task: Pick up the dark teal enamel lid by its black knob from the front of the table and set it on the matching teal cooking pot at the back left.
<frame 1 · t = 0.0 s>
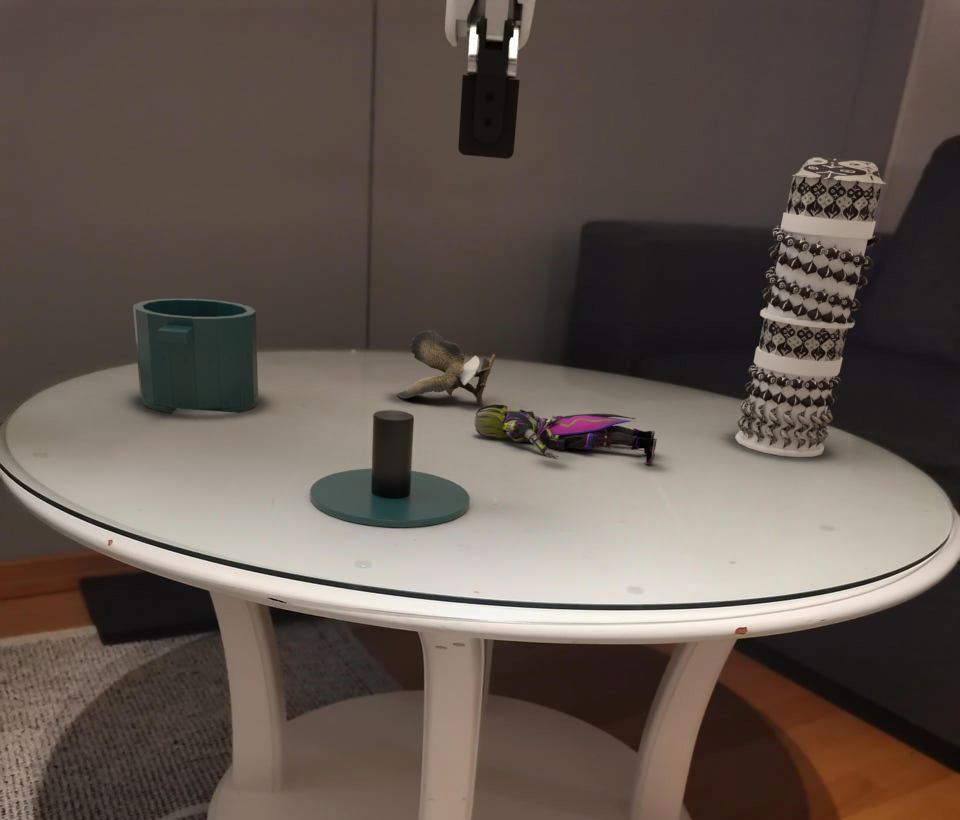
hand: (484, 155, 61), 23 cm above the table, tool pointing down, fingers open, 9 cm apart
character figure: (561, 453, 87), on the table
pot: (200, 400, 93), on the table
eagle figurine: (443, 401, 101), on the table
decorative candle: (778, 446, 95), on the table
lid: (390, 499, 70), point 1 cm above the table
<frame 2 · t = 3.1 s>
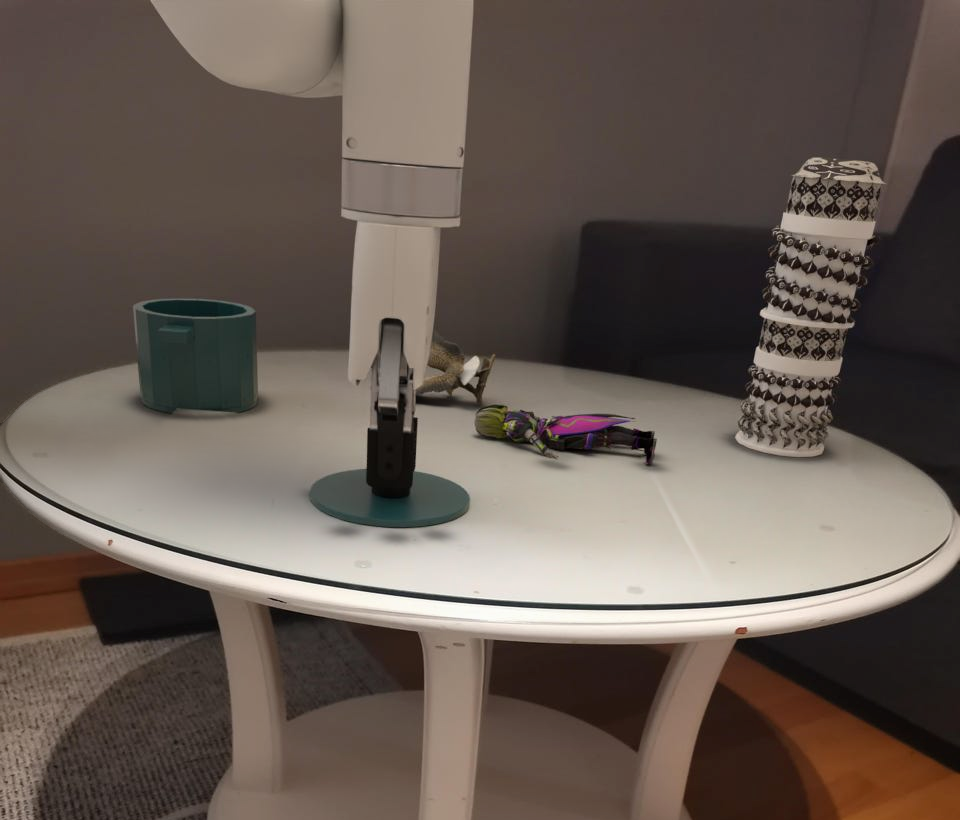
hand: (391, 476, 69), 2 cm above the table, tool pointing down, fingers closed on lid, 2 cm apart
lid: (390, 499, 70), point 1 cm above the table, touching gripper
everything else where it was.
when the fingers open (10 cm above the table, at t = 10.9 s): lid stays where it is, resting on pot.
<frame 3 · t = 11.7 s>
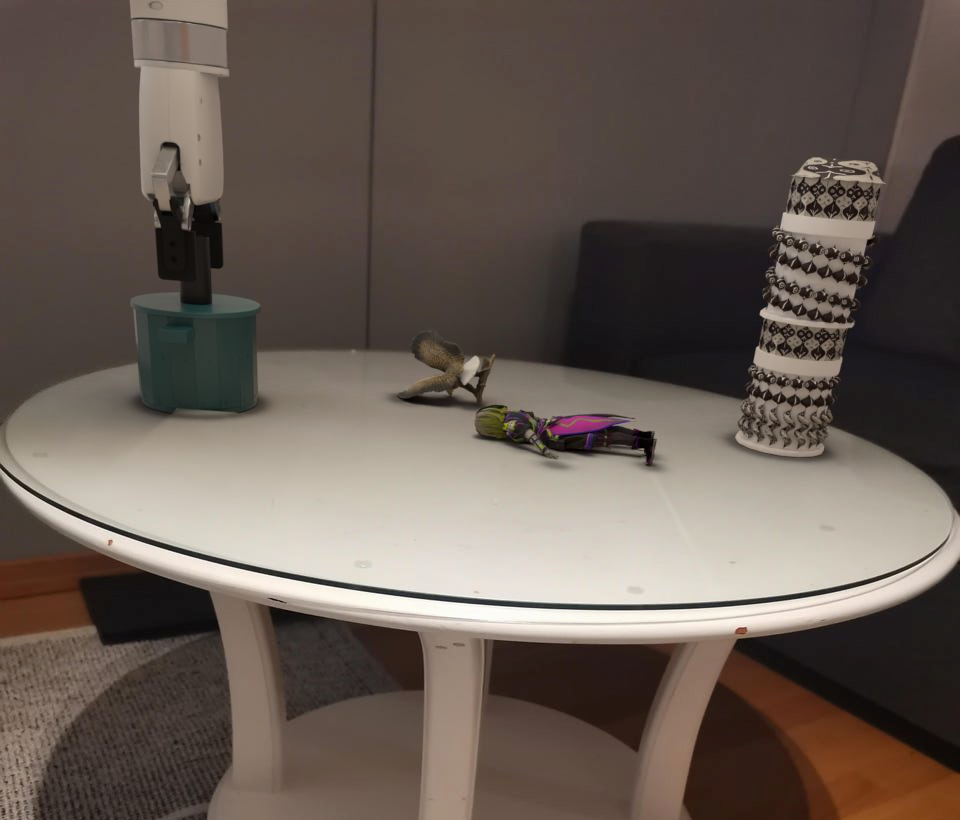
hand: (192, 273, 87), 11 cm above the table, tool pointing down, fingers open, 9 cm apart
lid: (196, 307, 89), point 8 cm above the table, touching pot
everything else where it was.
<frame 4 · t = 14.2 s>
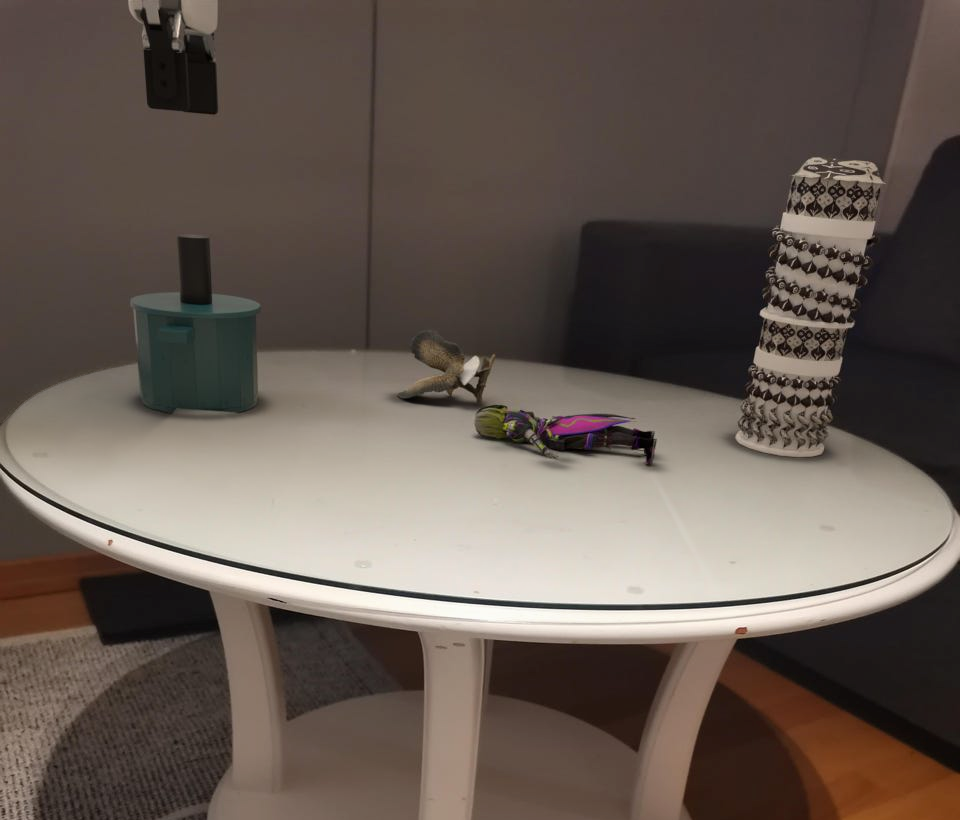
hand: (184, 111, 82), 24 cm above the table, tool pointing down, fingers open, 9 cm apart
nothing on the table moved.
at the end: lid 0.1 cm off-centre on the pot, point 8.5 cm above the pot's base; lid tilted 0° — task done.
